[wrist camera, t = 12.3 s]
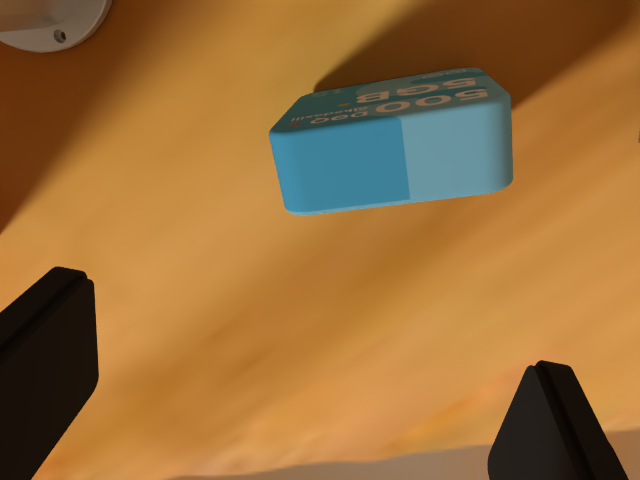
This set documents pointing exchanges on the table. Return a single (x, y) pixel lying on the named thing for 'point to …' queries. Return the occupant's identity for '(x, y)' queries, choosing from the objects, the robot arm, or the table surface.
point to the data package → (395, 142)
